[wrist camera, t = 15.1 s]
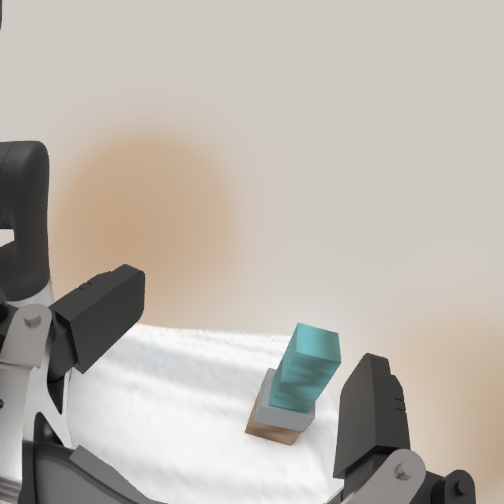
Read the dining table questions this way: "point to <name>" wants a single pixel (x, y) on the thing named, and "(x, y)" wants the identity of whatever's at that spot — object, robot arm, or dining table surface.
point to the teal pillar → (305, 368)
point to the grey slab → (279, 410)
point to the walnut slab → (270, 430)
